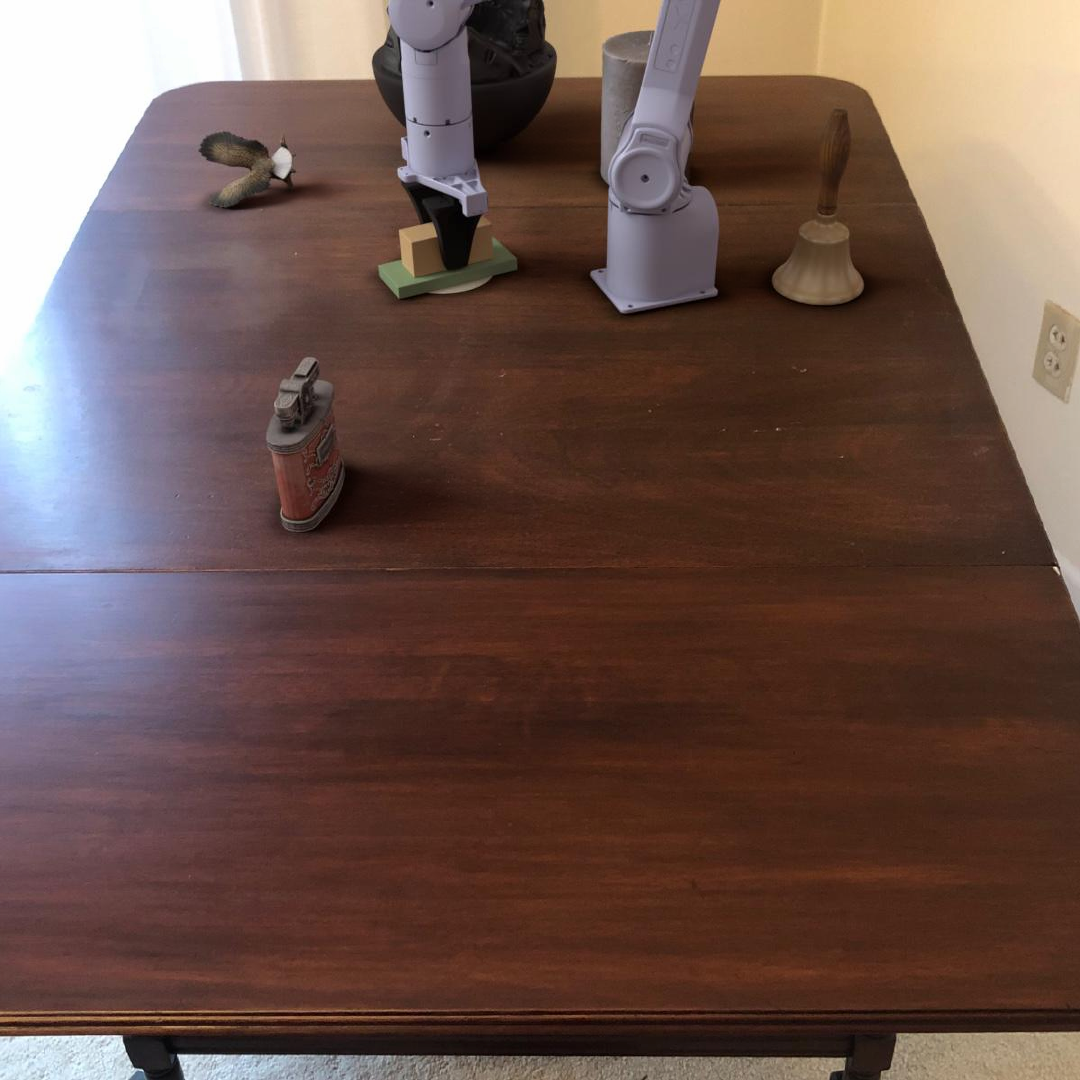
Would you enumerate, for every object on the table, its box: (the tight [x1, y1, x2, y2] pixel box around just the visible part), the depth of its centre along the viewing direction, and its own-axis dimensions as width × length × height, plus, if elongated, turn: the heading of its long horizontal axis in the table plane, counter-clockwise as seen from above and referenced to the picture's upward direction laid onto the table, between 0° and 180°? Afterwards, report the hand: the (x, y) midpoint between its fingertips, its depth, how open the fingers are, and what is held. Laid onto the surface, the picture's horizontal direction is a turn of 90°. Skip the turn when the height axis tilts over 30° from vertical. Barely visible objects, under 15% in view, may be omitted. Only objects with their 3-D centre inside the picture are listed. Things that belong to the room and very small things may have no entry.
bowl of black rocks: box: [371, 0, 558, 153], centre depth 132 cm, size 20×20×19 cm
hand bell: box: [771, 108, 865, 306], centre depth 107 cm, size 8×8×16 cm
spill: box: [426, 276, 493, 295], centre depth 115 cm, size 9×9×1 cm
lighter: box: [265, 356, 346, 533], centre depth 85 cm, size 8×3×10 cm, turn 168°
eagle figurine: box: [198, 130, 297, 208], centre depth 127 cm, size 8×7×9 cm
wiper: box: [378, 214, 518, 300], centre depth 113 cm, size 5×12×5 cm, turn 117°
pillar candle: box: [600, 29, 695, 186], centre depth 126 cm, size 10×10×15 cm
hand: (448, 258), depth 114 cm, fingers closed on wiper, 3 cm apart
